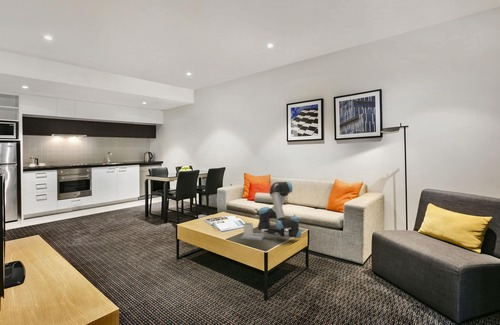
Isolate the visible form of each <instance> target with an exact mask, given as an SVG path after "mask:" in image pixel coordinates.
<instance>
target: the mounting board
mask: <svg viewBox="0 0 500 325" xmlns="http://www.w3.org/2000/svg"><path fill="white" fill-rule="evenodd" d="M265 237H266V234H265V233H255V232H253V236H244V233H243V234H242V235H241V236H240V237H239V239H240V240H246V241H247V240H248V241H260V242H262V241H263V240H264V238H265Z"/></svg>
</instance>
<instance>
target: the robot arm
mask: <svg viewBox="0 0 500 325" xmlns="http://www.w3.org/2000/svg"><path fill="white" fill-rule="evenodd" d="M292 192H293V185H292V183H291V181H276V182H273V183H272V185H271V186H270V187H269V196H270V197H271V199H272V200H271V201H272V203H273V205H272V207H269V206H264V207H260V208H259V210H258V216H259V217H258V219H259V220H258V221H259V222H258V225H257V229H258V230H260V233H267V235H268V234H269V235H273V236H277V235H280V236H281V237H286V238H295V239H296V238H298V239H299V238H301V237H302V230H301V229H300V228H299V227H300V225H299V224H300V220H299V217H298V216H291V217H290V219H286V217H285V216H286V215H285V213H284V209H283V205H284V203H285V200H286V198H287V197H288V195H289V194H291V193H292ZM272 219H277V220H276V221H275V226H276V228H272V225H271V222H270V221H271V220H272Z"/></svg>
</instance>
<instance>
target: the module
mask: <svg viewBox="0 0 500 325" xmlns="http://www.w3.org/2000/svg"><path fill="white" fill-rule="evenodd" d="M253 233H254V224H253V223H252V222H244V224H243V234H244V236H253Z"/></svg>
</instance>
